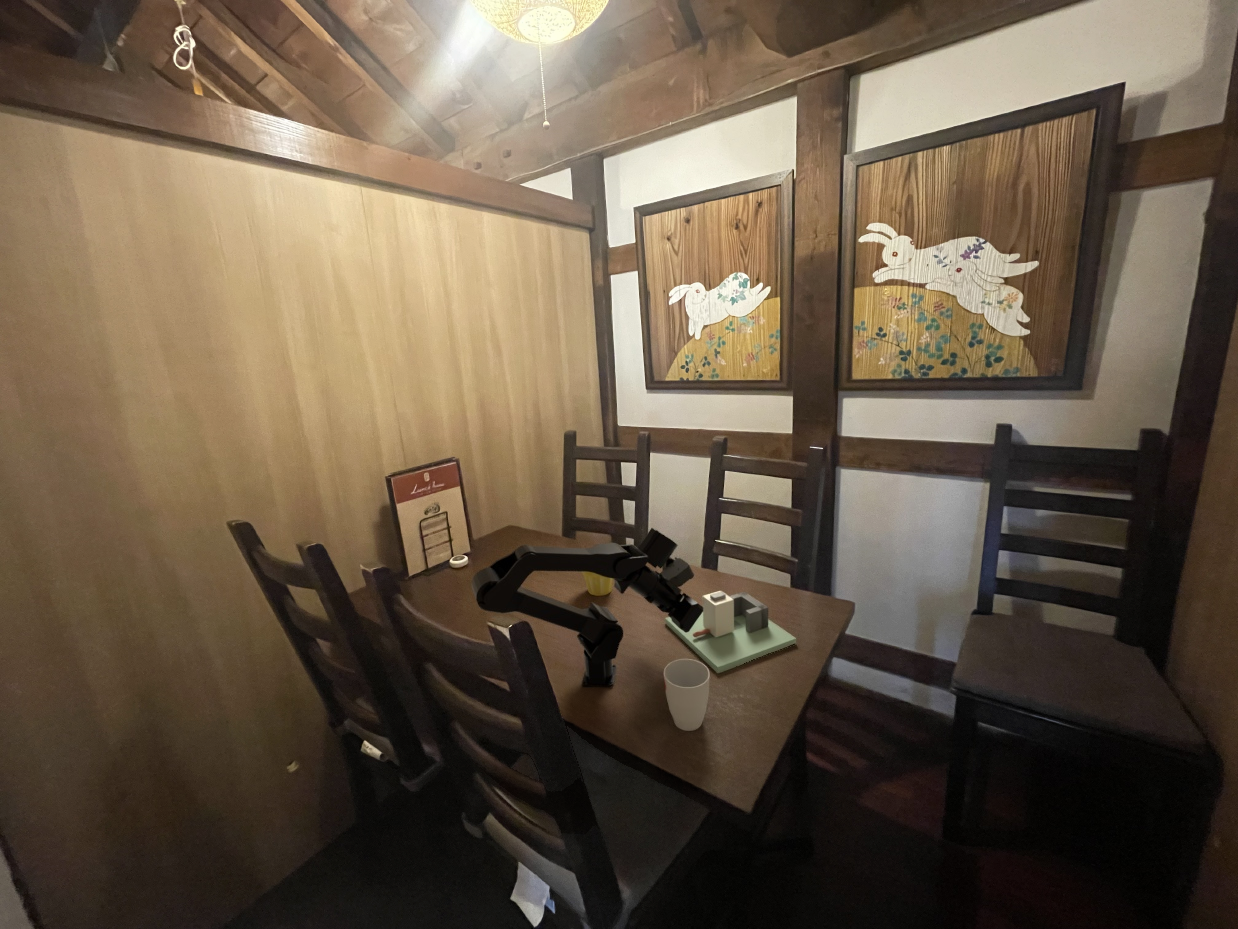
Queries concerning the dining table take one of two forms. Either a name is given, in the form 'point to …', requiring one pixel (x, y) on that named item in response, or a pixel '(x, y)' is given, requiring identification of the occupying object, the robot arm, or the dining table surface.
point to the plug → (717, 614)
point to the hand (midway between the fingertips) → (693, 616)
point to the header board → (733, 643)
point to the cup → (687, 692)
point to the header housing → (750, 611)
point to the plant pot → (598, 584)
